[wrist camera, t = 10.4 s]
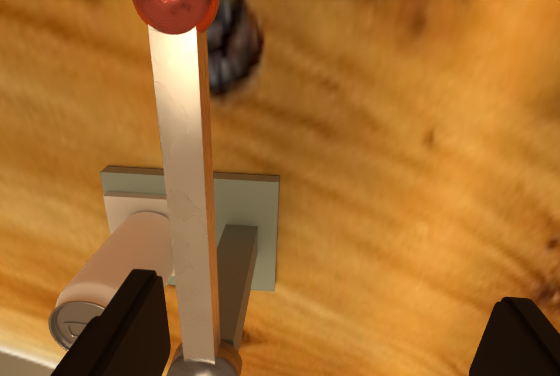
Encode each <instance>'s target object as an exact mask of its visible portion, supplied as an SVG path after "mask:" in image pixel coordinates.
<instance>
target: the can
mask: <svg viewBox="0 0 560 376" xmlns="http://www.w3.org/2000/svg"><path fill="white" fill-rule="evenodd" d="M133 269H146V270H155V271H156V273H157V276H162V279H163V286H164V289H165V287H166V285H167V283H168V281H169V279H170V277H171V275H172V273H173V271H174V263H173V254H172V244H171V235H170V226H169V219H168V218H166V217H164V216H162V215H160V214H157V213H152V212H140V213H136V214H133V215H131V216H129V217H128V218H127V219H126V220H124V222H123V223H122V224H121V225H120V226H119V227H118V228H117V229H116V230H115V231H114V232H113V234H112V235H111V236H110V237H109V238H108V239H107V240H106V241H105V243H104V244H103V245H102V246H101V247H100V248H99V249H98V250H97V252H96V253H95V254H94V255H93V256H92V257H91V258H90V259H89V261H88V262H87V263H86V264H85V265H84V266H83V267H82V269H81V270H80V271H79V272H78V273H77V274H76V275H75V277H74V278H73V279H72V280H71V281H70V282H69V283H68V285H67V286H66V287H65V288H64V289H63V291H62V292H61V294H60V295H59V297H58V300H57V303H56V308H55V309H54V310H53V311H52V313H51V315H50V317H49V330H50V332H51V335H52V336H53V338H54V339H55V341H56V342H57V343H58V344H59V345H60V346H61V347H62V348H63V349H65V350H66V351H68V350H69V349H70V348H71V346H72V345H73V343H74V342H75V340H76V339H77V338H78V336H79V335H80V333H81V332H82V331H83V329H84V328H85V326H86V325H87V324H88V322H89V321H90V320H91V319H92V318H94V317H95V316H100V315H101V314H102V312H103V311H104V309H105V308H106V307H107V305H108V304H109V302H110V301H111V299H112V298H113V296H114V295H115V294H116V292H117V291H118V289H119V288H120V286H121V285H122V283H123V282H124V280H125V279H126V278H127V276H128V275H129V273H130V272H131V271H132V270H133Z"/></svg>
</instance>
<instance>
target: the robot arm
mask: <svg viewBox="0 0 560 376" xmlns="http://www.w3.org/2000/svg"><path fill="white" fill-rule="evenodd" d="M170 348H171V344H170V336H169V327H168V319H167V311H166V302H165V294H164V286H163V279H162V276H157V273H156V271H155V270H146V269H133V270H132V271H131V272H130V273H129V275H128V276H127V278H126V279H125V280H124V282H123V283H122V285H121V286H120V288H119V289H118V291H117V292H116V294H115V295H114V296H113V298H112V299H111V301H110V302H109V304H108V305H107V307H106V308H105V309H104V311H103V312H102V314H101V315H100V316H95V317H94V318H92V319H91V320H90V321H89V322H88V324H87V325H86V326H85V328H84V329H83V331H82V332H81V333H80V335H79V336H78V338H77V339H76V340H75V342H74V343H73V345H72V346H71V348H70V349H69V350H68V352H67V353H66V355H65V356H64V357H63V359H62V360H61V362H60V363H59V364H58V366H57V367H56V369H55V370H54V371H53V373H52V374H51V376H162V373H163V371H164V368H165V366H166V363H167V361H168V358H169V354H170ZM469 376H560V334H559V333H558V332H557V330H556V329H555V328H554V327H553V325H552V324H551V323H550V322H549V320H548V319H547V318H546V317H545V315H544V314H543V313H542V312H541V310H540V309H539V308H538V307H537V306H536V304H535V303H534V302H533V301H532V300H531V299H528V298H517V297H504V298H503V299H502V300H501V302H497V303H496V304H495V305H494V308H493V310H492V313H491V316H490V318H489V321H488V323H487V326H486V328H485V331H484V334H483V336H482V339H481V341H480V344H479V347H478V349H477V352H476V354H475V357H474V359H473V362H472V365H471V367H470V370H469Z"/></svg>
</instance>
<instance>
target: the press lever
mask: <svg viewBox="0 0 560 376" xmlns="http://www.w3.org/2000/svg"><path fill="white" fill-rule="evenodd" d="M133 4H134V6H135V9H136V10H137V12H138V14H139V16H140V17H141V19H142V20H143V21H144V22H145V23H146V25H147V26H148V31H149V40H150V50H151V59H152V68H153V77H154V87H155V96H156V105H157V115H158V124H159V133H160V142H161V152H162V161H163V170H164V179H165V189H166V198H167V207H168V217H169V226H170V235H171V244H172V254H173V263H174V272H175V281H176V291H177V300H178V309H179V319H180V328H181V337H182V343H181V344H180V345H179V346H178V348H177V350H176V352H175V355H174V357H173V360H172V363H171V365H170V368H169V371H168V373H167V376H240V374H241V369H242V360H241V357H240V355H239V353H238V351H237V350H236V349H235V348H234V347H233V346H231V345H230V344H229V343H227V342H225V341H223V340H220V319H219V297H218V274H217V252H216V230H215V207H214V185H213V163H212V140H211V118H210V96H209V73H208V51H207V29H208V28H209V27H210V25H211V24H212V22H213V21H214V19H215V16H216V14H217V11H218V6H219V0H133Z"/></svg>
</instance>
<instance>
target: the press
mask: <svg viewBox="0 0 560 376" xmlns="http://www.w3.org/2000/svg"><path fill="white" fill-rule="evenodd" d="M100 176H101V182H102V187H103V192H104V196H103V198H104V203H105V208H106V213H107V218H108V224H109V229H110V234H111V235H112V234H113V232H114V231H115V230H116V229H117V228H118V227H119V226H120V225H121V224H122V223H123V222H124V220H126V219H127V218H128V217H129V216H131V215H133V214H136V213H140V212H152V213H157V214H160V215H162V216H164V217H166V218H168V219H169V217H168V207H167V198H166V189H165V179H164V170H163V169H148V168H131V167H113V166H107V167H106V168H104V169H103V170H102V171H100ZM279 181H280V176H271V175H253V174H236V173H218V172H213V185H214V207H215V230H216V252H217V274H218V297H219V319H220V340H223V341H225V342H227V343H229V344H230V345H231V346H233V347H234V348H235V349H236V350H237V351H238V352H239V347H240V342H241V337H242V331H243V326H244V321H245V316H246V311H247V305H248V300H249V295H250V290H260V291H275V278H276V254H277V230H278V205H279ZM167 284H172V285H176V281H175V272H174V271H173V273H172V275H171V277H170V279H169V281H168V283H167Z"/></svg>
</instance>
